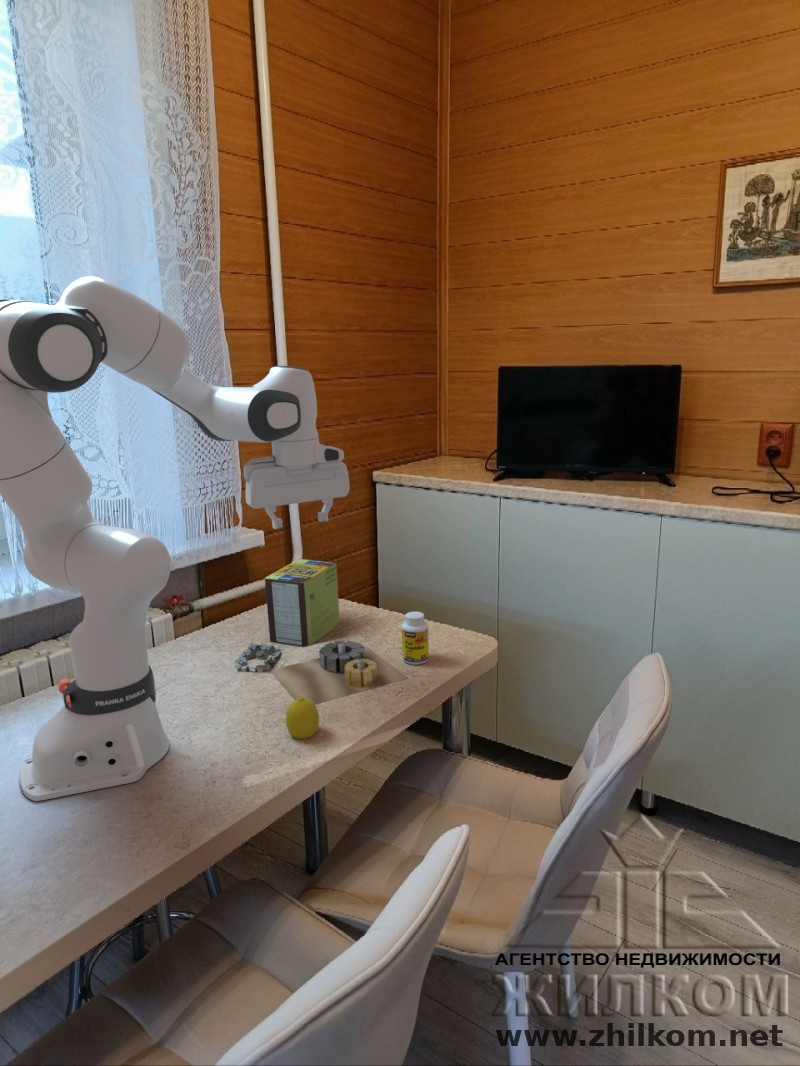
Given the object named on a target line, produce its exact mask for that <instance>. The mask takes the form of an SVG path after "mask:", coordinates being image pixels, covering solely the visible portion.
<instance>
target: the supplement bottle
mask: <svg viewBox="0 0 800 1066" xmlns="http://www.w3.org/2000/svg"><path fill="white" fill-rule="evenodd" d="M404 617H405V618H404V622H403V623H401V649H402V651H401V652H402V653H401V656H402V661H403V662H404V663H406V664H408V665H412V666H414V665H415V666H418V665H422V664H425V663H426V662H428V660H429V656H430V655H429V654H430V653H429V624H428V622H427V621H425V614H424V613H423V612H421V611H409V612H407V613H406V614H405V615H404Z"/></svg>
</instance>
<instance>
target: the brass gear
mask: <svg viewBox="0 0 800 1066" xmlns="http://www.w3.org/2000/svg"><path fill="white" fill-rule="evenodd" d="M357 660H359V659H356V660H352V661H350V662H347V664H346V665H345V666H344V667H345V682H346V683H347V684H348V685H349V686H350V685H352V686H353V687H362V686H363V687H366V686H370V685H373V683H374V684H375V682H376V681H377V664H376V663H375V662H374V661H373V660H371V661H370V660H369V659H363V660H364V661H365V668H364V669H358V666H357Z"/></svg>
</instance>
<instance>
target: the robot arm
mask: <svg viewBox="0 0 800 1066" xmlns="http://www.w3.org/2000/svg"><path fill="white" fill-rule="evenodd" d="M190 352H191V350H190V342H189V338H188V335H187V333H186V332H185V331H184V330H183V328H182V327H181V326H180V325H179V324H178V323H177V322H176V321H174V320H173V318H171V317H170V316H168V315H167V314H166V313H165V312H163V311H161V310H160V309H159V308H157V307H155V306H154V305H153V304H151V303H149V302H148V301H146V300H144V299H143V298H141V297H139V296H138V295H136V294H135V293H133V292H130V291H129V290H127V289H125V288H123V287H121V286H119V285H117V284H115V283H112V282H110V281H108V280H106V279H104V278H100V277H98V276H84V277H80V278H78V279H76V280H74V281H73V282H71V283H70V284H69V285H68V286H67V287H66V289H64V291H63V293H62V294H61V297H60V299H59V301H58V302H57V303H56V304H55V305H53V304H52V305H51V304H50V305H49V304H43V303H38V302H36V301H35V302H34V301H31V300H22V299H21V300H19V299H17V300H15V299H14V300H10V299H0V496H1V498H2V499H3V500H4V501H5V503H6V505H7V506H8V508H9V509H10V510H11V512H12V513H13V514H14V516H15V517H16V519H17V521H18V523H19V525H20V527H21V529H22V532H23V535H24V537H25V544H24V547H23V562H24V566H25V568H26V570H27V571H28V573H29V574H30V575H31V576H32V577H33V578H35V579H37V580H39V581H40V582H42V583H44V585H46V586H47V585H48V586H49V587H51V588H53V589H56V590H59V591H64V592H68V593H75V594H80V595H81V596H82V598H83V600H84V612H83V613H84V614H83V619H82V621H81V622H79V623H78V624H77V625H76V626H75V627H74V629H73V630H72V631H71V632H70V633H71V634H70V635H69V639H68V640H69V642H68V643H69V648H70V654H71V661H72V667H73V673H74V679H73V681H71V679H70V678H65V677H64V678H61V679H60V680H59V682H58V683H57V687H58V691H59V693H61V694H62V698H63V703H64V706H62V707H61V708H60V709H59V711H57V712H56V713H54V715H53V716H52V717H50V718H49V719H48V720H47V721H46V722H45V723H44V724H43V725H41V727H40V728H39V729H38V731H37V732H36V735H35V737H34V741H33V745H32V752H31V753H30V754H28V756H27V757H25V759H24V760H23V762H22V763H21V765H20V769H19V774H18V775H19V786H21V787H20V790H21V789H22V790H21V792H22V791H23V792H22V793H24V794H23V795H24V796H25V795H26V796H25V797H26V798H27V797H28V799H30V800H32V801H34V802H40V801H46V800H49V799H50V800H51V799H55V798H61V797H65V796H70V795H74V794H80V793H86V792H91V791H95V790H101V789H106V788H111V787H115V786H116V787H117V786H121V785H127V784H131V783H134V782H137V781H139V780H140V779H142V777H143V776H144V775H145V773H146V772H147V770H148V769H150V768H151V767H153V766H154V765H155V764H156V763H158V762H159V761H161V759H163V758H164V756H165V755H167V753H168V751H169V749H170V740H169V738H168V737H167V734H166V731H165V730H164V727H163V724H162V722H161V718H160V716H159V713H158V709H157V705H156V704H157V703H156V700H157V699H156V697H157V696H156V695H157V690H156V681H155V680H156V679H155V675H154V673H153V669H152V667H151V665H150V664H149V656H148V646H147V635H146V634H147V633H146V621H147V615H148V611H149V608H150V605H151V602H152V600H154V598H155V597H156V596H158V594H160V593H161V591H163V589H164V588H165V586H166V584H167V582H168V580H169V578H170V575H171V569H172V564H171V555H170V553H169V550H168V549H167V547H166V545H165V544H164V543H163V542H162V541H161V540H160V539H158V538H155V537H153V536H151V535H149V534H147V533H144V532H142V531H140V530H137V529H134V528H127V527H119V526H110V525H106V524H103V523H101V522H99V521H98V520H97V519H96V518H95V517H94V516H93V514H92V512H91V511H90V508H89V505H88V504H89V503H88V501H89V500H90V497H91V495H92V492H93V482H92V478H91V477H90V476H89V474H88V472H87V471H86V469H85V468H84V466H83V464H82V463H81V461H80V459H79V458H78V456H77V455H76V453H75V451H74V450H73V448H72V446H71V445H70V443H69V442H68V440H67V438H66V437H65V435H64V434H63V432H62V431H61V429H60V428H59V426H58V425H57V422H55V421H54V419H53V416H52V414H51V411H50V407H49V402H48V401H49V399H48V397H49V396H48V395H49V393H52V394H55V393H57V394H58V393H67V392H71V391H73V390H77V389H78V388H80V387H82V386H83V385H85V384H86V383H87V382H88V381H89V380H91V378H92V377H93V376H94V375H95V374H96V372H97V369H98V368H99V365H100V364H101V363H102V364H104V365H105V366H107V367H108V368H110V369H112V370H113V371H115V372H117V373H119V374H121V375H122V376H125V377H126V378H128V379H130V380H132V381H134V382H136V383H138V384H141V385H142V386H145V387H147V388H148V389H150V390H151V391H153V392H154V393H156V395H159V396H161V397H162V398H164V399H165V400H167V401H168V402H170V403H171V404H173V405H174V406H176V407H177V408H178V409H181V410H182V411H183V412H185V413H186V414H188V416H190V418H192V419H193V420H194V422H195V423H196V425H198V427H199V429H200V430H201V431H202V432H203V433H204V434H205V435H206V436H207V437H209V438H210V439H212V440H214V441H217V442H230V441H231V442H233V441H239V442H248V443H249V442H250V443H254V442H255V443H271V450H272V451H271V453H272V455H270V456H265V457H264V456H263V457H254V458H253V457H252V458H250V460H248V461H247V462H246V463H245V464H244V466H243V470H242V471H243V477H244V480H245V503H246V504H247V505H248V506H249V507H251V508H252V509H255V510H256V509H257V510H258V509H264V510H265V512H266V514H267V515H268V517H269V518H270V519H271V523H272V524H271V525H272V528H273V529H274V530H278V529H279V530H280V529H284V525H283V522H284V521H283V519H282V518H280V517H277V515H276V514H275V513H276V512H277V507H279V506H280V507H281V506H285V505H287V506H288V505H293V504H300V503H307V502H315V501H316V502H317V501H321V503H323V506H322V509H321V511H317V521H318V522H320V523H324V522H328V521H329V512H330V510H331V508H332V507H333V505H334V499H336V498H337V499H338V498H345V497H346V496H348V495H349V492H350V490H351V489H350V487H351V486H350V477H349V471H348V467H347V465H346V464H345V462H343V460H344V458H345V453H344V452H345V451H344V450H343V449H341V448H339V447H336V446H335V447H334V446H330V445H328V444H325V443H320V440H319V437H320V436H319V432H318V429H317V425H316V423H317V417H318V407H317V406H318V405H317V394H316V389H315V383H314V380H313V376H312V373H311V372H309V370H308V369H306V368H303V367H298V366H291V365H290V366H288V365H275V366H272V367H271V368H270V369H269V373H268V374H267V375H266V376H265V377H264V378H263V379H262V380H260V381H259V382H257V383H256V384H254V385H252V386H251V387H250V386H249V387H248V386H247V387H246V386H243V387H241V386H239V387H238V386H237V387H236V386H226V385H212V384H210V383H207V382H205V381H204V380H203V379H201V378H200V377H198V375H196V374H195V373H193V372H192V371H191V370H189V369H188V368H187V366H188V363H189V359H190Z"/></svg>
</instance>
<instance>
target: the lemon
mask: <svg viewBox="0 0 800 1066" xmlns="http://www.w3.org/2000/svg"><path fill="white" fill-rule="evenodd" d="M319 715H320V714H319V711H318V708H317V706H316V704H314V703H313V702H312V701H311V700H309V699H307V698H303V697H300V698H298V699H296V700H295V699H294V700H293V701H291V703H290V704H289V705H288V707H287V709H286V713H285V725H286V728H287V731H288V733H289V734H290V735H291V736H292V737H293V738H295V739H297V740H306V739H308V738H311V737H313V736H314V735H315V734H316V732H317V731H318V728H319V724H320V716H319Z"/></svg>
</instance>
